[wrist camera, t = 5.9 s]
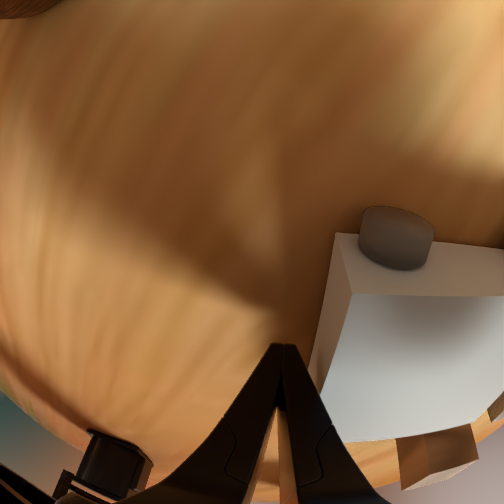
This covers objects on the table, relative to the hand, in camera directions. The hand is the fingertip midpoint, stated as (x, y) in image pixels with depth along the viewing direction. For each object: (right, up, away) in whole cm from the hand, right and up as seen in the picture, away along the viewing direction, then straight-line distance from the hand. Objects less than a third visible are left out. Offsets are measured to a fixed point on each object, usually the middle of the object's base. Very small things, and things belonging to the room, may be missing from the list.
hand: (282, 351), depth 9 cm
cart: (+6, 0, 0) cm, 6 cm away
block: (+11, -9, +5) cm, 15 cm away
